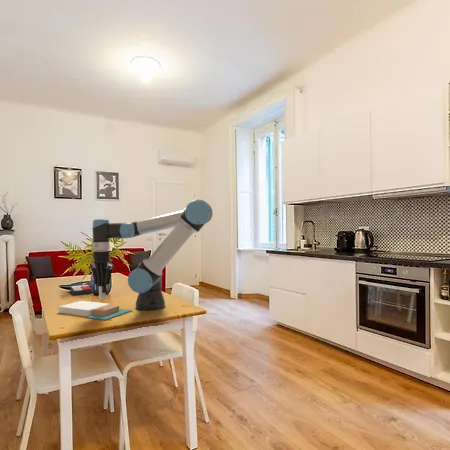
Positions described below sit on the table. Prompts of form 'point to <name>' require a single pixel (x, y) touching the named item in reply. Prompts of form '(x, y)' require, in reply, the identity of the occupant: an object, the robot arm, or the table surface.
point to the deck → (81, 308)
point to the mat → (120, 312)
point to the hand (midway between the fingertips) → (102, 299)
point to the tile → (105, 310)
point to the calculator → (80, 290)
